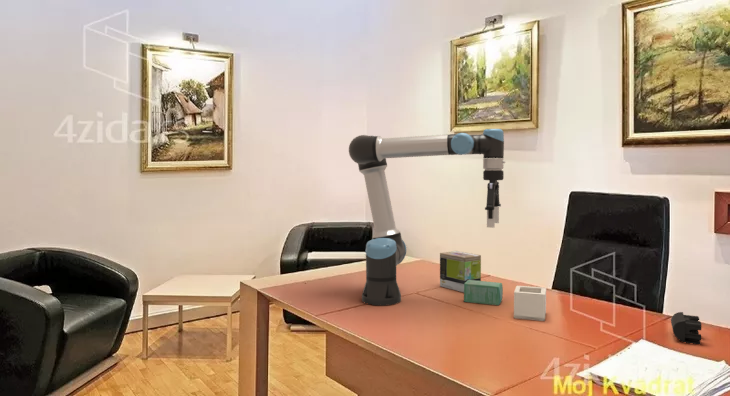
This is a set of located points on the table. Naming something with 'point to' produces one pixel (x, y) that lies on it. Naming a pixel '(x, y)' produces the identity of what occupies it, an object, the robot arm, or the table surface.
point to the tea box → (459, 269)
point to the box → (483, 292)
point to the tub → (530, 303)
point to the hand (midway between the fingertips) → (493, 225)
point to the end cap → (686, 328)
